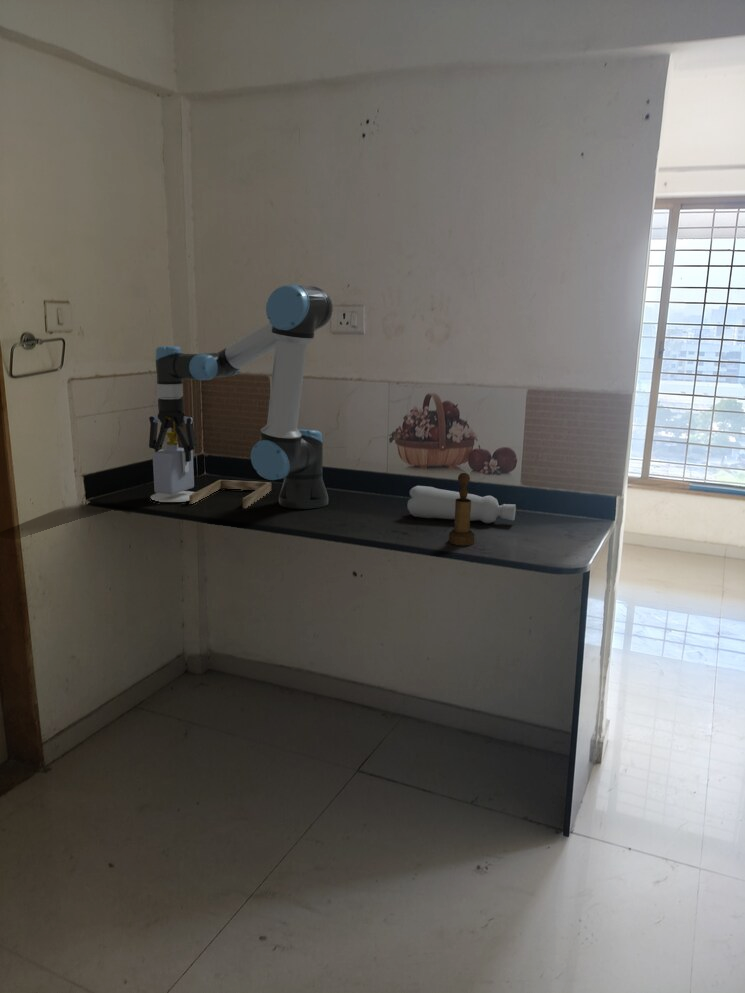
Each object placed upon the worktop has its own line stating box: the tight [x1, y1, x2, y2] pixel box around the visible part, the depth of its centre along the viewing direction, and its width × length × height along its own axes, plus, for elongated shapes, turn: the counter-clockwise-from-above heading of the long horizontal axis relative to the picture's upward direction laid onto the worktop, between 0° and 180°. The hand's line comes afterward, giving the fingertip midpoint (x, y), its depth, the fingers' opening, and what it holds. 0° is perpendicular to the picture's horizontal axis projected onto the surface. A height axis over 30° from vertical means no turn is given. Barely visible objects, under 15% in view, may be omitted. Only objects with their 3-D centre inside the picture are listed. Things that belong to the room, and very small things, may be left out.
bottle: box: [407, 485, 517, 524], centre depth 217 cm, size 9×9×30 cm
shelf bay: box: [189, 479, 273, 509], centre depth 241 cm, size 18×24×3 cm
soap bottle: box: [152, 417, 195, 495], centre depth 237 cm, size 12×7×23 cm, turn 157°
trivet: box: [149, 490, 196, 502], centre depth 240 cm, size 15×15×1 cm
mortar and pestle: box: [448, 472, 475, 546], centre depth 194 cm, size 7×6×18 cm
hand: (173, 471), depth 238 cm, fingers closed on soap bottle, 7 cm apart
